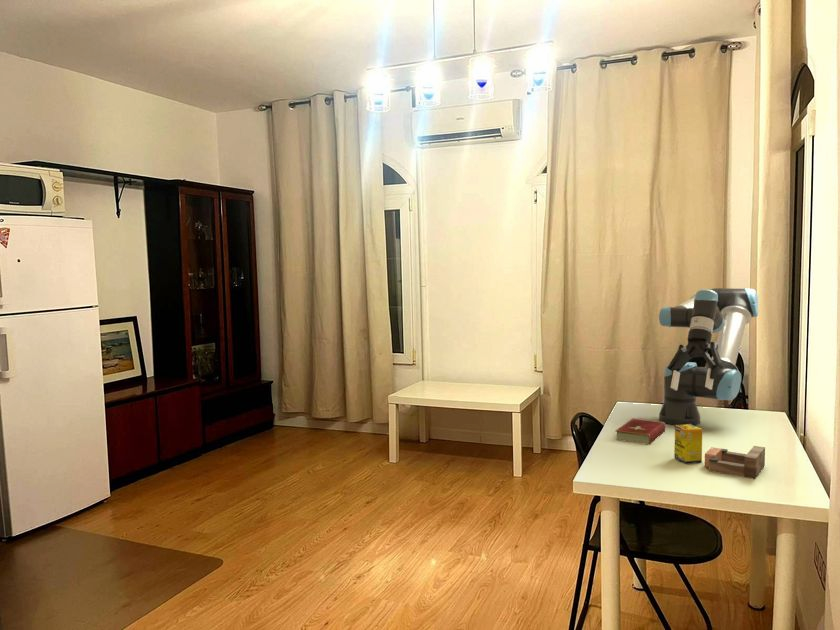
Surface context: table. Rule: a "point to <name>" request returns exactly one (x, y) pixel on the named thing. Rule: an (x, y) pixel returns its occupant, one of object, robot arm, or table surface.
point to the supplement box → (688, 444)
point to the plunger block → (713, 455)
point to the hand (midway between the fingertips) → (690, 388)
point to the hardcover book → (640, 431)
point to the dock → (740, 463)
